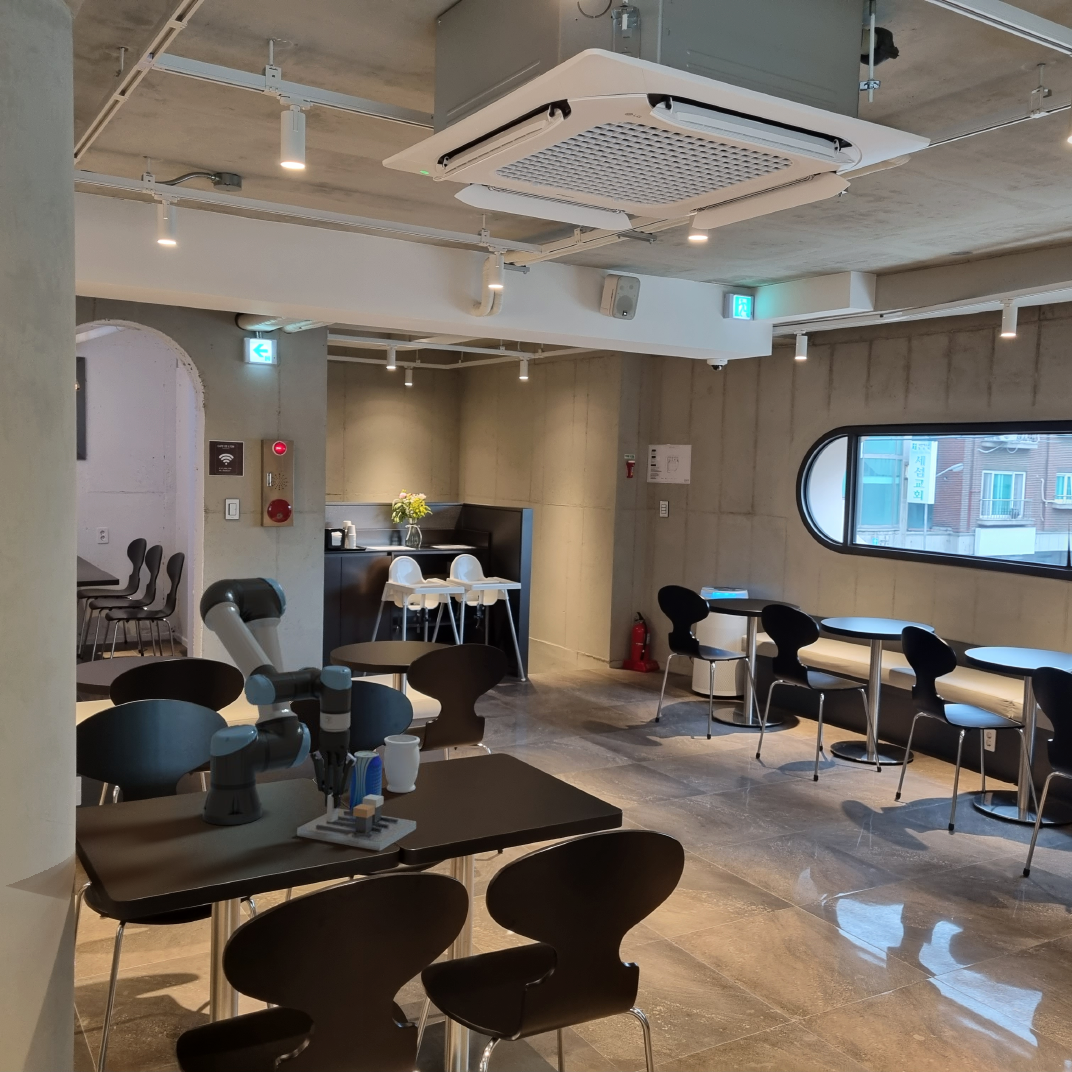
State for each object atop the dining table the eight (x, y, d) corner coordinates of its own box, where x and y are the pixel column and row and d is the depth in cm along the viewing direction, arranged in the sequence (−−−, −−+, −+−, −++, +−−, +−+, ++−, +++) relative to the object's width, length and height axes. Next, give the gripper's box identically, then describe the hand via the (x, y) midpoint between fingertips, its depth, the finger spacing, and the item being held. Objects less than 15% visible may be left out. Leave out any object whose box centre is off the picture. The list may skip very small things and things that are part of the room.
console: (297, 835, 253) (297, 825, 253) (337, 815, 270) (337, 805, 269) (379, 850, 244) (380, 840, 244) (416, 828, 261) (416, 819, 260)
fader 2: (352, 831, 250) (353, 807, 250) (360, 827, 254) (361, 803, 254) (366, 833, 249) (367, 810, 249) (374, 829, 252) (374, 806, 252)
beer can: (374, 818, 268) (375, 758, 268) (344, 815, 270) (345, 756, 269) (385, 808, 277) (386, 751, 276) (356, 806, 278) (357, 748, 278)
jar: (380, 785, 299) (381, 735, 298) (415, 783, 302) (416, 733, 301) (386, 795, 289) (387, 743, 288) (421, 793, 292) (423, 742, 291)
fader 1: (362, 820, 259) (362, 797, 258) (369, 817, 262) (370, 794, 262) (375, 823, 257) (376, 800, 257) (383, 819, 261) (383, 796, 260)
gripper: (304, 728, 253) (302, 820, 254) (348, 734, 248) (346, 828, 249) (321, 722, 260) (319, 811, 261) (365, 728, 255) (362, 819, 256)
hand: (332, 820), depth 255 cm, fingers closed
